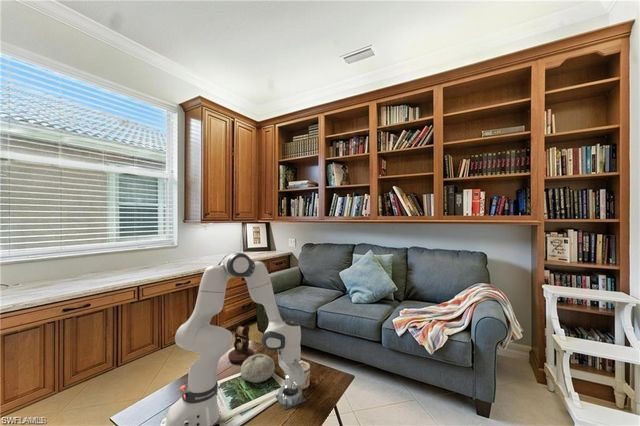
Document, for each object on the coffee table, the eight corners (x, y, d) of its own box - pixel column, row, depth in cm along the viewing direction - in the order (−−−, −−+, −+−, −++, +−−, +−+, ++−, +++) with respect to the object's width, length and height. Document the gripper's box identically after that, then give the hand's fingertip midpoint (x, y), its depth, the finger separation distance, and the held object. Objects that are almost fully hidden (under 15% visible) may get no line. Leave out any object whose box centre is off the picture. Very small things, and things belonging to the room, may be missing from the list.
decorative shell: (254, 392, 129) (255, 371, 129) (233, 378, 139) (233, 359, 140) (281, 375, 143) (281, 356, 143) (259, 363, 154) (260, 346, 154)
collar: (284, 410, 118) (284, 402, 118) (274, 395, 127) (274, 388, 127) (306, 401, 123) (306, 393, 124) (295, 388, 133) (295, 381, 133)
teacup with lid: (309, 390, 131) (309, 366, 131) (290, 389, 132) (291, 365, 132) (311, 375, 143) (311, 354, 143) (294, 374, 144) (294, 353, 144)
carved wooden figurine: (258, 356, 162) (259, 323, 162) (239, 367, 149) (240, 332, 150) (242, 349, 170) (243, 318, 170) (222, 359, 157) (223, 325, 157)
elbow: (299, 390, 126) (299, 375, 126) (288, 395, 122) (288, 379, 122) (294, 384, 130) (294, 370, 130) (283, 388, 126) (283, 374, 126)
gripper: (308, 363, 119) (307, 394, 119) (287, 344, 136) (287, 371, 136) (295, 368, 115) (295, 399, 115) (276, 347, 132) (275, 375, 132)
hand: (290, 384), depth 126 cm, fingers closed on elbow, 5 cm apart
